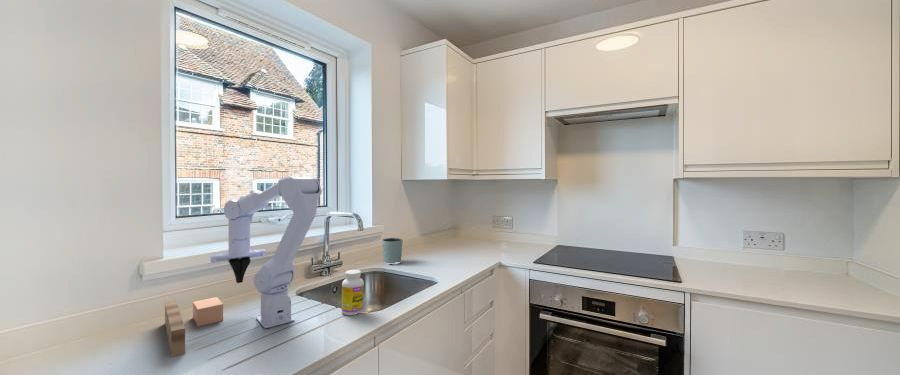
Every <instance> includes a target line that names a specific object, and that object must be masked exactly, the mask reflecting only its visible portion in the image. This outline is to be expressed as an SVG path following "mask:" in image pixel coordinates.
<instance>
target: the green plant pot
mask: <svg viewBox="0 0 900 375" xmlns="http://www.w3.org/2000/svg"><path fill="white" fill-rule="evenodd" d="M403 240H404V239H402V238H400V237H387V238H386V237H385V238H383V239H382V240H381V242H382V244H381V245H382V254H383V263H384V262H386V263H395V262H400V261H401V262H402V253H403Z"/></svg>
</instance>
